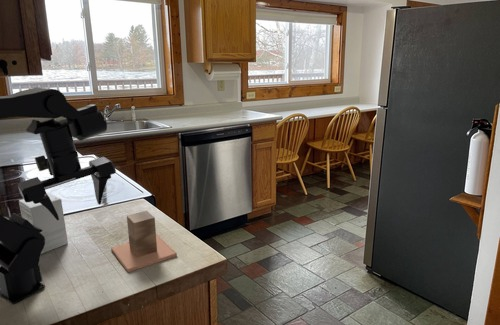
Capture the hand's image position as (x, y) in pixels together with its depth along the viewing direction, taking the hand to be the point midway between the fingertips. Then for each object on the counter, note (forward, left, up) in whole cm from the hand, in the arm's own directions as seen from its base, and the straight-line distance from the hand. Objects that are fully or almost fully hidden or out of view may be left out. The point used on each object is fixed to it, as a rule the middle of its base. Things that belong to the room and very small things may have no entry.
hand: (79, 211), depth 84 cm
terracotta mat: (+10, -9, -13) cm, 18 cm away
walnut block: (+10, -9, -12) cm, 18 cm away
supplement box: (0, +15, -13) cm, 20 cm away
